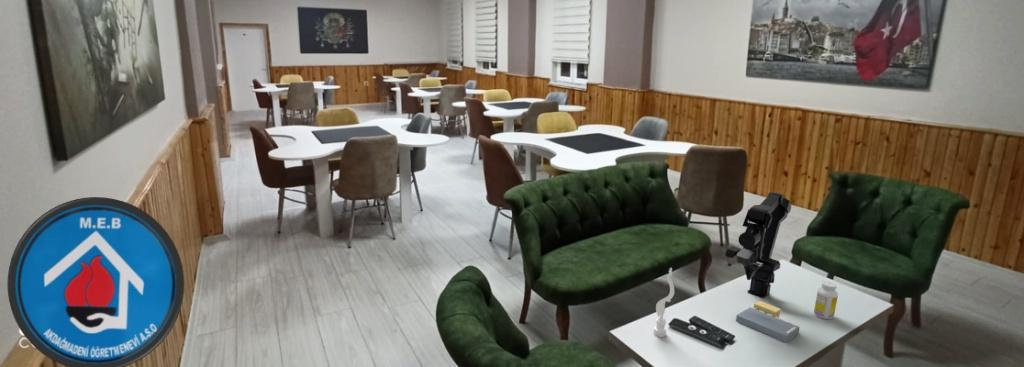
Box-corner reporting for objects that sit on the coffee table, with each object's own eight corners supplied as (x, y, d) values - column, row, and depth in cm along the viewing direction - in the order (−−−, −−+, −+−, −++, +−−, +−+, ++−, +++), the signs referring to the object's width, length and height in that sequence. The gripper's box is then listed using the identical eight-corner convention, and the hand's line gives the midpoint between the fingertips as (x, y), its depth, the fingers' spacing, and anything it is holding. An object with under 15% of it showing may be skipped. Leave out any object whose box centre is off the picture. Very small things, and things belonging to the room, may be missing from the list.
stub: (752, 313, 208) (754, 303, 207) (757, 310, 210) (759, 300, 209) (773, 322, 202) (775, 312, 201) (778, 318, 205) (780, 309, 204)
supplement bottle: (831, 313, 210) (838, 281, 207) (835, 321, 204) (841, 289, 201) (811, 309, 213) (817, 278, 209) (814, 317, 206) (821, 286, 203)
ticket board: (735, 320, 202) (736, 314, 201) (749, 312, 208) (750, 306, 208) (785, 342, 189) (786, 335, 188) (798, 333, 195) (799, 326, 195)
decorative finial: (650, 332, 192) (657, 265, 186) (657, 328, 195) (665, 262, 188) (664, 339, 188) (672, 271, 181) (671, 336, 190) (680, 268, 184)
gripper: (720, 238, 207) (714, 276, 211) (769, 253, 193) (762, 294, 198) (735, 231, 214) (729, 269, 218) (784, 246, 201) (777, 286, 205)
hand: (748, 279), depth 209 cm, fingers closed
